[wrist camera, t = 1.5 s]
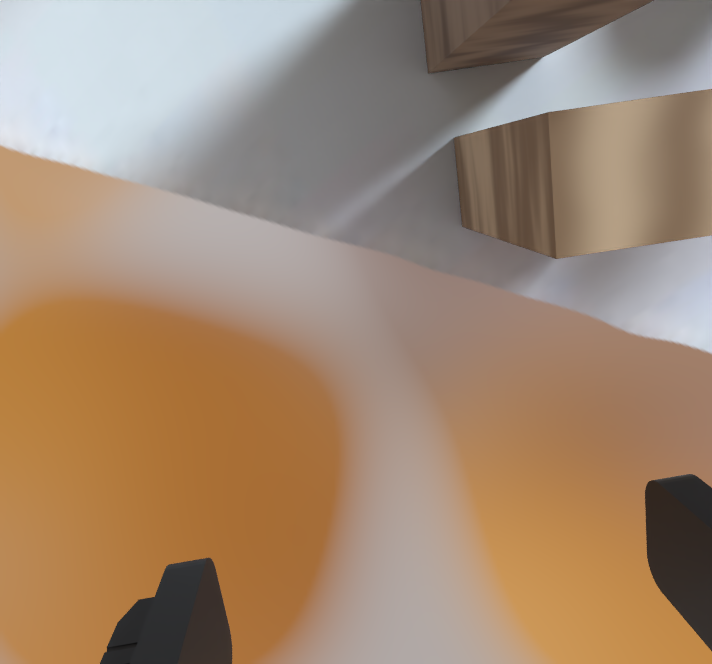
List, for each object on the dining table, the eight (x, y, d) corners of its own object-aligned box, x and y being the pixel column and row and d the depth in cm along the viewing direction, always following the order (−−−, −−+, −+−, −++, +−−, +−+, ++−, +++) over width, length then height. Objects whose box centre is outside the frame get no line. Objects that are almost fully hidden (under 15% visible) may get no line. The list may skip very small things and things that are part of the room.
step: (462, 226, 50) (556, 258, 31) (453, 137, 48) (548, 112, 29) (605, 205, 50) (787, 223, 31) (602, 116, 49) (793, 77, 29)
